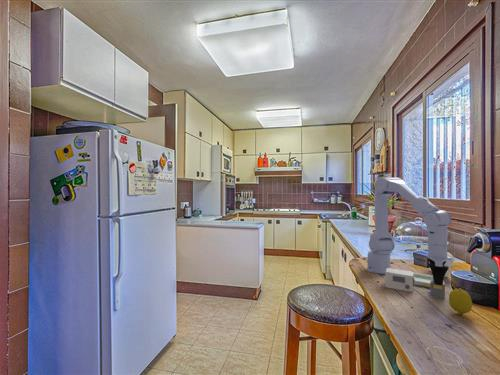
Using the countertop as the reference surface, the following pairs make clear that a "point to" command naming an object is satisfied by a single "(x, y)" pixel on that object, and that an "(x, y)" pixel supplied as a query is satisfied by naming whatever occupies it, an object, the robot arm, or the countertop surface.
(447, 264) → the lightbulb
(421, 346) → the countertop surface
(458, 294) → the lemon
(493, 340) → the countertop surface
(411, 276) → the control box
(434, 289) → the block
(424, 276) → the parts tray
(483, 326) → the countertop surface
